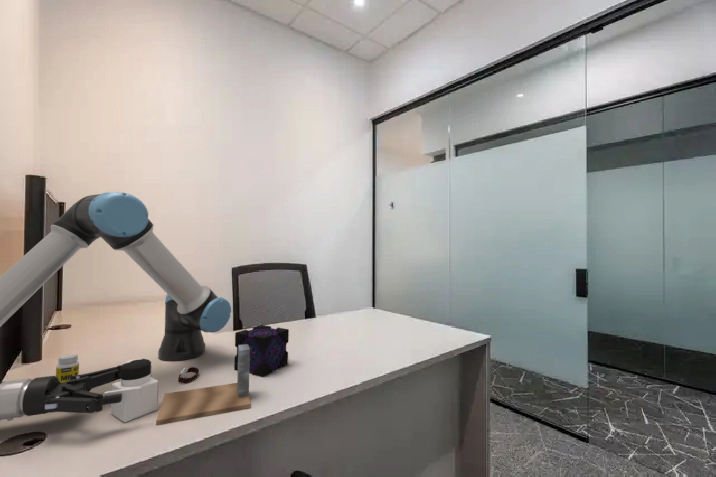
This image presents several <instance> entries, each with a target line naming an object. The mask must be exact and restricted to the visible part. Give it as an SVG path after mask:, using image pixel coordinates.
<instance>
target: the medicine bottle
mask: <svg viewBox="0 0 716 477" xmlns="http://www.w3.org/2000/svg"><path fill="white" fill-rule="evenodd" d="M121 365H122V366H121V368H120V379H119V381H117V382H112V384H111V391H114V390H121V389H128V388H136V387H141V399H140V401H133V402H126V403H120V404H113V405H110V413H111V415H112V416H114V417H116V418H117V419H118V420H120V421H122V422H123V423H127V422H130V421H132V420H133V421H134V420H135V419H137V418H140V417H143V416H146V415H148V414H150V413H153V412H155V411H157V410H158V402H159V380H157V379H156V378H153V377H152V373H151V365H152V361H151V360H149V359H146V358H135V359H134V358H133V359H131V360H128V361H126V362H124V363H122V364H121ZM150 376H151V377H150Z"/></svg>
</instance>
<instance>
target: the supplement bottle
mask: <svg viewBox="0 0 716 477" xmlns="http://www.w3.org/2000/svg"><path fill="white" fill-rule="evenodd" d="M78 359H79V355H78V354H76V353H70V354H65V355H61V356H59V357H58V361H57V362H58V363H57V365H56V367H55V376H56V377H57V378H58V379H59V382H60V383H63V382H67V381H69V380H70V377H71V376H75V375H80V373H79V372H80V362H79V360H78Z"/></svg>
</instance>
